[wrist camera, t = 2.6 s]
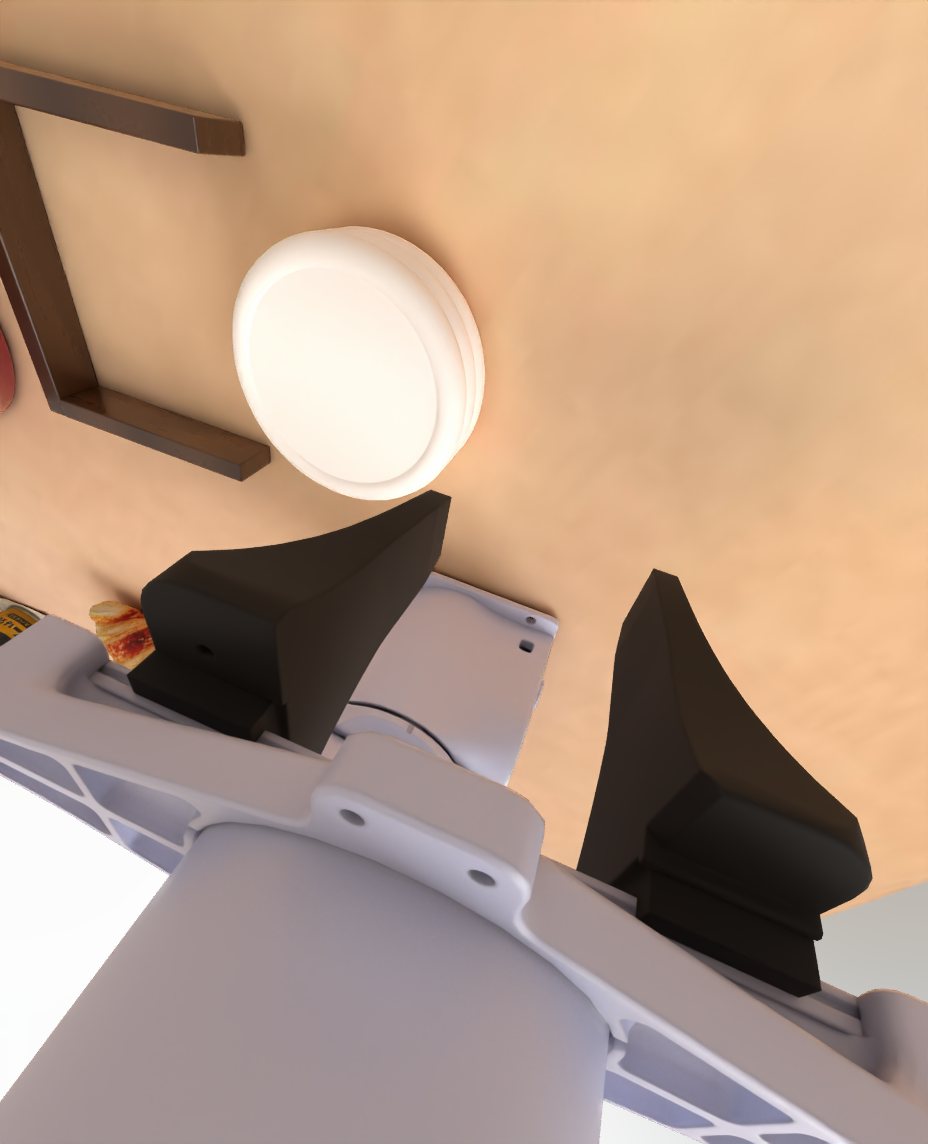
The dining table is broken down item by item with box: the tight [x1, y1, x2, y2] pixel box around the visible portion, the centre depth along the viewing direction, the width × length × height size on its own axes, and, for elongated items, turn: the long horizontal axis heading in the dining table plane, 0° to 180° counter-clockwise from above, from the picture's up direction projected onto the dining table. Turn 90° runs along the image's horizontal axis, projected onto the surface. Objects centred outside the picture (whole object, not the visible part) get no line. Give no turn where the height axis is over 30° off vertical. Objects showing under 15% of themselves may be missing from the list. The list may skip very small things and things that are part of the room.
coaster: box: [232, 226, 485, 500], centre depth 21 cm, size 10×10×4 cm
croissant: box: [89, 601, 155, 670], centre depth 41 cm, size 21×10×8 cm, turn 50°
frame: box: [0, 61, 270, 482], centre depth 23 cm, size 12×14×2 cm
